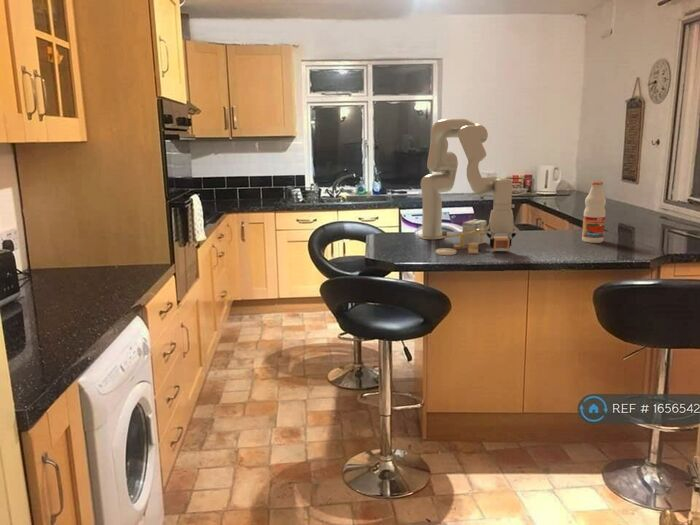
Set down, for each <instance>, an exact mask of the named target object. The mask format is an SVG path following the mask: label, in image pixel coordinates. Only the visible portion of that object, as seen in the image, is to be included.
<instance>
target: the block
mask: <svg viewBox="0 0 700 525" xmlns="http://www.w3.org/2000/svg"><path fill="white" fill-rule="evenodd" d="M467 253H468V254H479V244H478V243H468V249H467Z"/></svg>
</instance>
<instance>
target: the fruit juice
mask: <svg viewBox="0 0 700 525" xmlns="http://www.w3.org/2000/svg"><path fill="white" fill-rule="evenodd" d="M590 184H591V187H590V190H589V193H588V194H587V196H586V197H585V200H584V204H585V208H584V210H583V220H582V233H581V241H582V242H584V243H591V244H592V243H593V244H598V243H602V242H603V241H604V238H605V237H604V235H605V226H606V225H605V223H606V208H605V207H606V204H607V198H606V196H605V195H604V194H605V193H604V190H603V187H602V186H603V184H604V183H603V181H591V183H590Z"/></svg>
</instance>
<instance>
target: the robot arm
mask: <svg viewBox="0 0 700 525" xmlns="http://www.w3.org/2000/svg"><path fill="white" fill-rule="evenodd" d="M488 134H489V133H488V130H487V129H486V127H485V126H484V125H482V124H480V123H477V122H474V121H472V120H469V119H467V118H466V119H465V118H443V119H439V120H437V121H435V123H433V125H432V127H431V131H430V146H429V150H428V156H427V164H426V165H427V169H428V171H430V172H431V173H429V174H427V175H424V176H423V177H422V178H421V180H420V189H421V196H422V197H421V198H422V221H421V222H422V225H421V226H422V227H421V229H422V233H420V234H419V236H418V237H419V238H420V239H421V240H422V239H424V240H441V239H445V238H444V237H440V235H442V226H443V225H442V221H443V220H442V218H443V216H442V215H443V201H442V197H441V196H440V194H441V193H448V192H450V191H451V190H453V188H454V186H455V181H456V177H457V176H456V175H457V170H458V166H459V165H458V164H459V163H458V162H459V161H458V157H457V155H456V154H455V152H452V151H448V149H449V142H448V138H458V139H459V143H460V145H461V147H462V150H463V151H464V155H465V156H466V159H467V161H468V162H467V165H466V166H467V167H466V180H467V181H468V184H469V186H470V188H471V190H472V191H473V193H474V194H475V195H478V196H485V195H493V204H492V206H493V207H492V208H493V209H491V210H490V215H489V220H488V221H489V222H488V225H486V228H485V229H484V230H483V232H484V233H485V234H486V237H488V238H489V246H490V248H491V249H492V248H494V239H493V237H494V236H495V235H496V234H507V237H508V238H509V239H510V242H509V249H510V248H511V246H512V242H513V238H515V236H517V234H518V233H520V229H519V228H518V227H517V226H516V225H515V224H514V222H515V221H514V214H513V212H514V211H513V208H515V205H516V204H512V194H513V193H512V192H513V180H512V179H511V178H505V177H504V178H502V177H497V176H486V177H482V174H481V172H480V169H479V164H480V162H482V161H483V160H484V159H485V158H486V157H487V151H486V149H485V147H484V145H483V143H485V142H486V141H487V140H488ZM433 172H434V173H433ZM488 231H489V232H490V233H489V232H488Z"/></svg>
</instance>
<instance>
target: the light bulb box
mask: <svg viewBox="0 0 700 525" xmlns="http://www.w3.org/2000/svg"><path fill="white" fill-rule="evenodd" d="M486 227H487V220H484V219H475V218H474V219H471V220H467V221H462V233H466V232H471V231H475V229H477V228H481V229H485V228H486ZM486 237H487V235H486V234H485V233H484V232H483V231H480V232H477V233H472V234H466V235H464V237H463V245H468V243H478V245H481V244H485V243H486V241H487V240H486V239H487V238H486Z"/></svg>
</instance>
